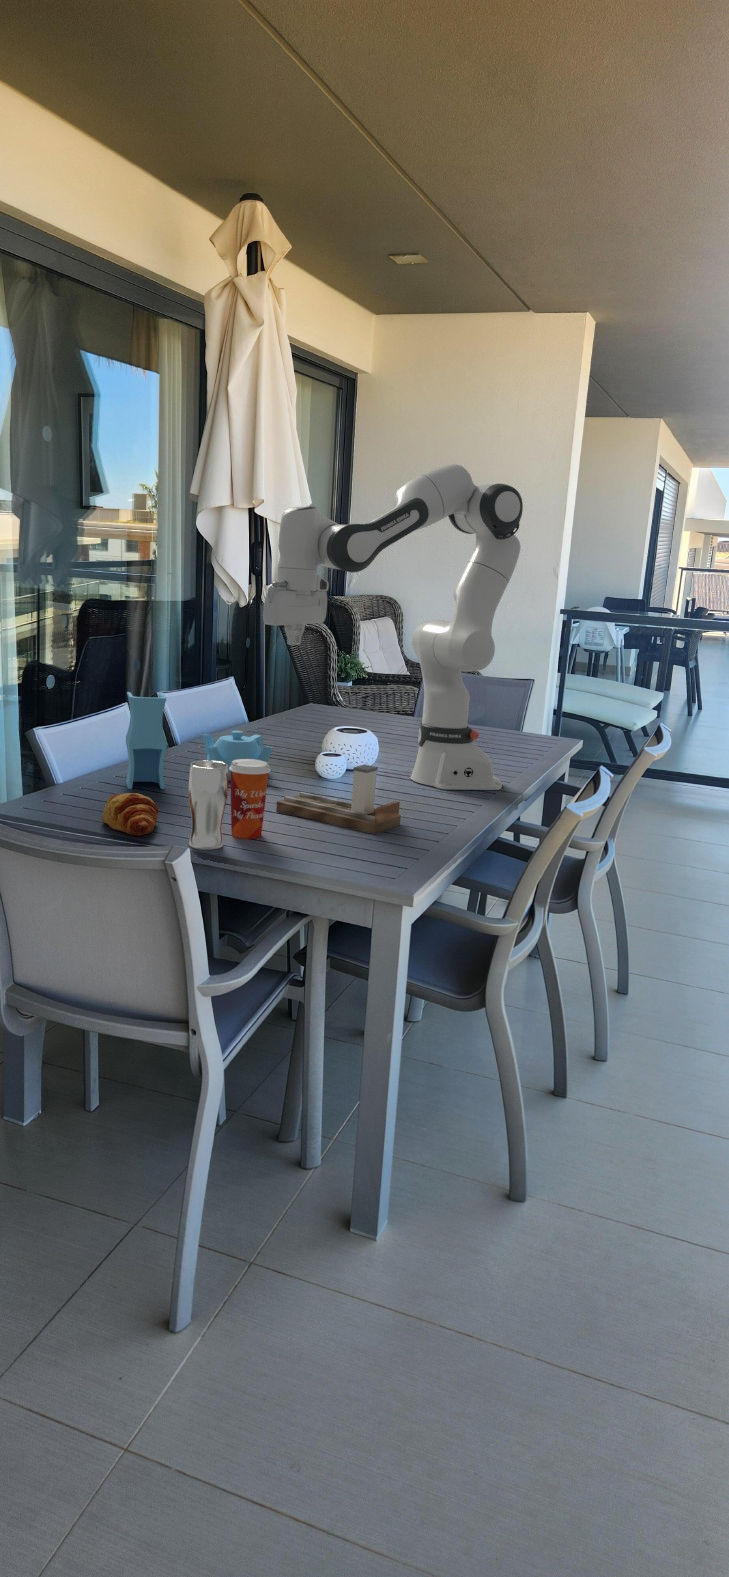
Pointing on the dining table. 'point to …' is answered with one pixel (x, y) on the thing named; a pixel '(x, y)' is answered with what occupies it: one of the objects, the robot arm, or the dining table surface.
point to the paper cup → (248, 797)
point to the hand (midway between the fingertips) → (293, 644)
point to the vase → (145, 740)
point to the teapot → (236, 748)
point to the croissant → (131, 813)
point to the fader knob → (364, 789)
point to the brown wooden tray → (341, 812)
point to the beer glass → (207, 803)
